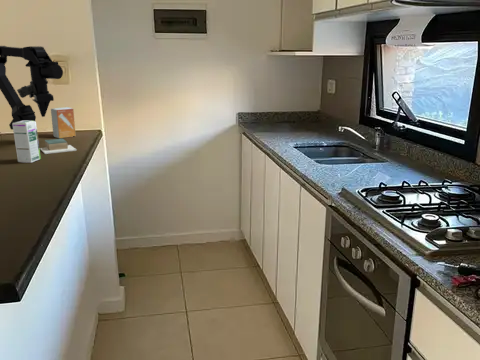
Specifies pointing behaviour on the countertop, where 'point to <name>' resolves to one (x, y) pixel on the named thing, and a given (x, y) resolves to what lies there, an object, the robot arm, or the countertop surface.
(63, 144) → the beige and teal box
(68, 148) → the flat white panel
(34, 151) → the syrup box
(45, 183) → the countertop surface
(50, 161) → the countertop surface
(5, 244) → the countertop surface
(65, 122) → the small box
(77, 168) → the countertop surface
